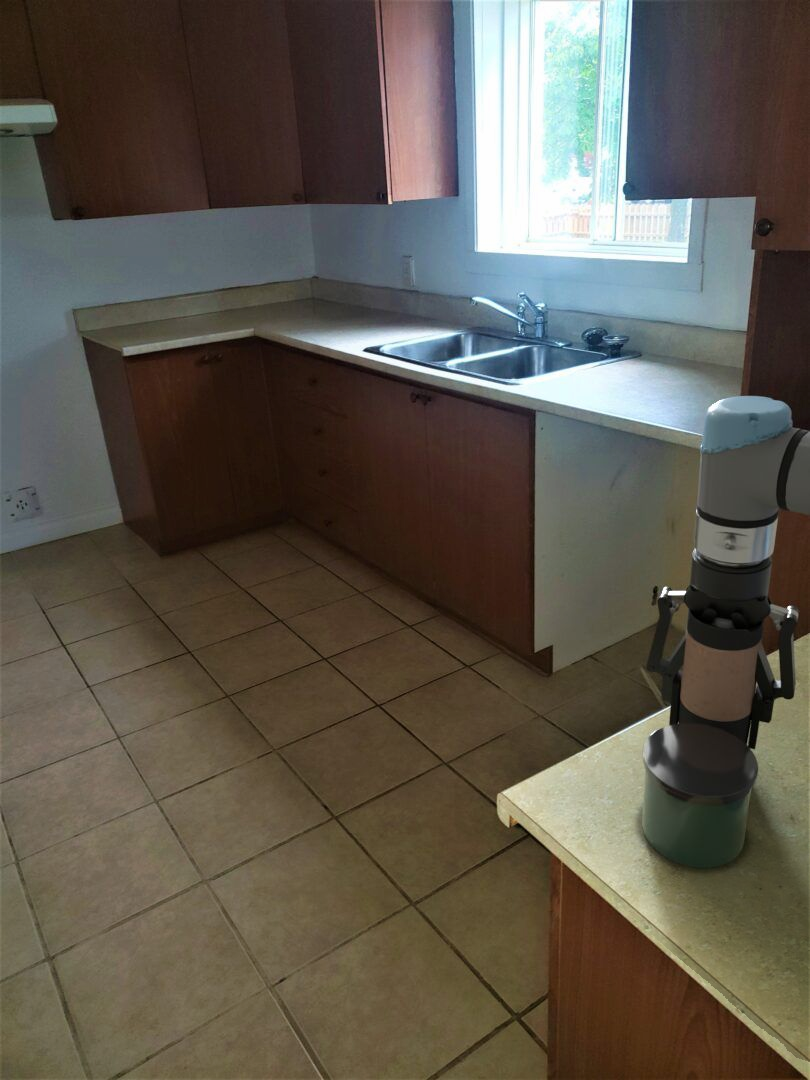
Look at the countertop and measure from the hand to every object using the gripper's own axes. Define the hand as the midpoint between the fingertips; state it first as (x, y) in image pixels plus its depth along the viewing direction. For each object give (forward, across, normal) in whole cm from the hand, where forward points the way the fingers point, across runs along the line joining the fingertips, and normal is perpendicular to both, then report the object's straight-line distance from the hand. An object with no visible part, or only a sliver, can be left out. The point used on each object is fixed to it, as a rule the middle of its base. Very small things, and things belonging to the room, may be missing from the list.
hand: (712, 732), depth 92 cm
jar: (+4, 0, -11) cm, 12 cm away
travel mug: (+4, 0, 0) cm, 4 cm away
